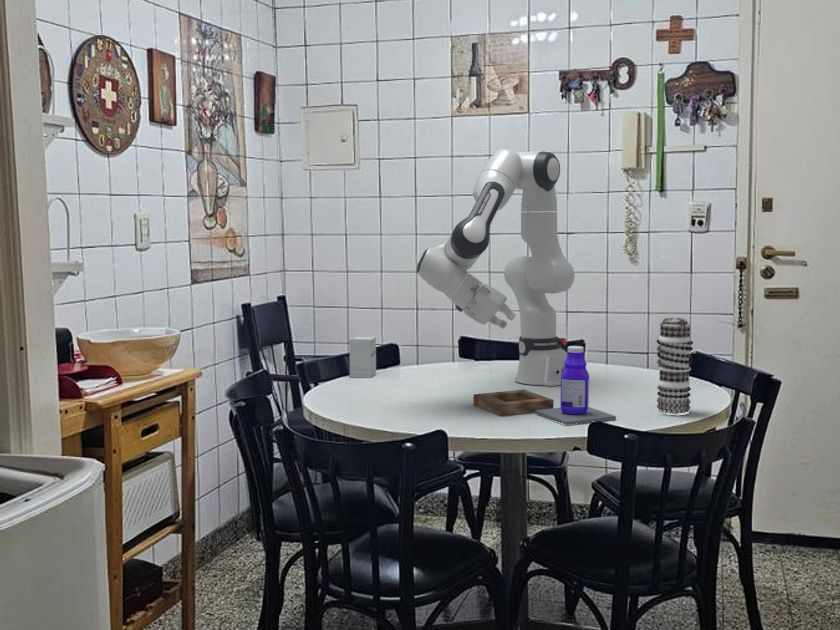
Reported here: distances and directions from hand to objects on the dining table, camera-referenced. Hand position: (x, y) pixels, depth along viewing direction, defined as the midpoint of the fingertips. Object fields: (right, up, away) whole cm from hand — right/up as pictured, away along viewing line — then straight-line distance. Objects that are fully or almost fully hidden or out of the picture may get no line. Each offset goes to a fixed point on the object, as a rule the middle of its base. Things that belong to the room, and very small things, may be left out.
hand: (509, 322), depth 257 cm
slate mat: (+16, -25, -11) cm, 31 cm away
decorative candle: (+42, -24, -7) cm, 49 cm away
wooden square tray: (+1, -23, +1) cm, 23 cm away
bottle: (+16, -24, -11) cm, 31 cm away
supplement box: (-43, -18, +53) cm, 70 cm away
